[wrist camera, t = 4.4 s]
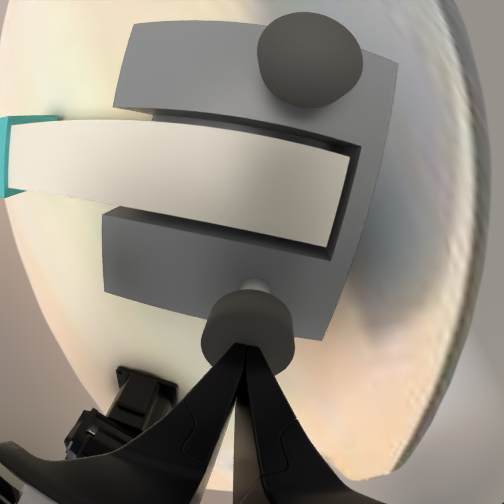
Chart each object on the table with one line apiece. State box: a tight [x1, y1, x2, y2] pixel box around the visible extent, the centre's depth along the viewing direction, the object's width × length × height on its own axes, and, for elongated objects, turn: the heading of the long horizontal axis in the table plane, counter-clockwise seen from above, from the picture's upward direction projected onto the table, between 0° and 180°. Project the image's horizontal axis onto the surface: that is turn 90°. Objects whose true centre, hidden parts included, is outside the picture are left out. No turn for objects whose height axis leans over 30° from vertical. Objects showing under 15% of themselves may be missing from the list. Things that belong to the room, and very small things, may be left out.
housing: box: [102, 20, 398, 341], centre depth 13 cm, size 14×12×7 cm
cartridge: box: [0, 115, 350, 247], centre depth 13 cm, size 5×21×5 cm, turn 79°
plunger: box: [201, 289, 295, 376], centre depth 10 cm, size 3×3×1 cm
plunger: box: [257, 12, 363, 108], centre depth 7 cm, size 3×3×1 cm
